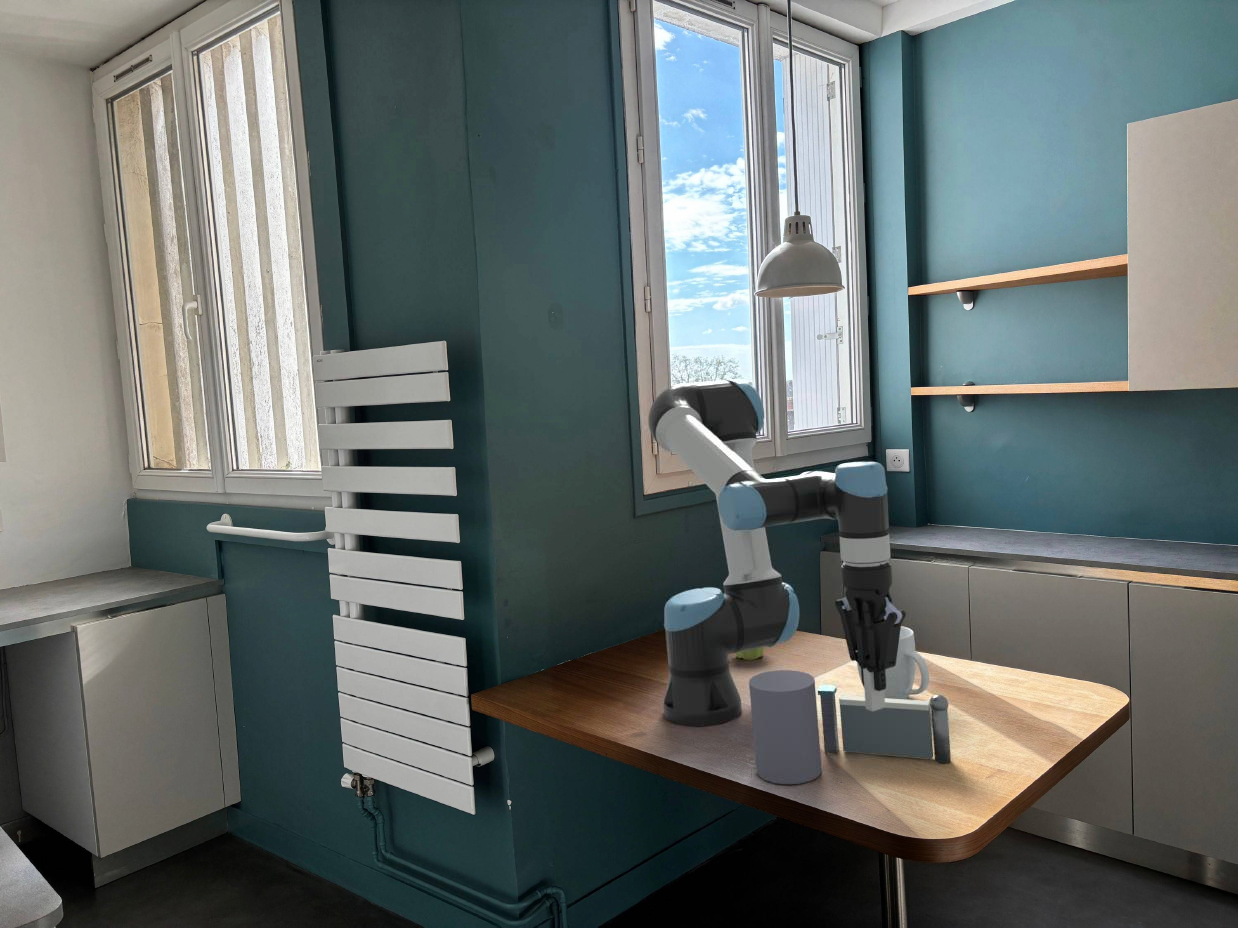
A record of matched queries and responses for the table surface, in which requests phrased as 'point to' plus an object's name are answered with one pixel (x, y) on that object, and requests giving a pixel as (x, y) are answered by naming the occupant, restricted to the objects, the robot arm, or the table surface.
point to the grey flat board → (887, 727)
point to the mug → (904, 669)
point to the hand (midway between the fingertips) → (875, 707)
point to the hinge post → (940, 729)
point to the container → (785, 726)
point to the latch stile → (829, 718)
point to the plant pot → (751, 653)
